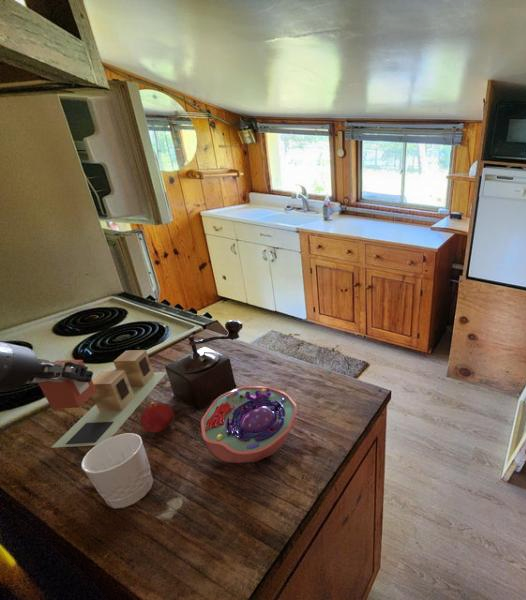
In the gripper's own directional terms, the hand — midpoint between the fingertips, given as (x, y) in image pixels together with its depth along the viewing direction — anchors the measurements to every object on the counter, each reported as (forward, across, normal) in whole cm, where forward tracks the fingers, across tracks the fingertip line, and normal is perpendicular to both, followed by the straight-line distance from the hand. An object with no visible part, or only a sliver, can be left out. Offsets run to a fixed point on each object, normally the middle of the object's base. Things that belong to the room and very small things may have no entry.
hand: (74, 377), depth 66 cm
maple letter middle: (+14, 0, +5) cm, 15 cm away
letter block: (+2, 0, +4) cm, 5 cm away
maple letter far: (+20, 0, -1) cm, 20 cm away
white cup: (-2, -16, +21) cm, 27 cm away
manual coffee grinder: (+18, -20, +1) cm, 27 cm away
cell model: (+5, -35, +15) cm, 38 cm away
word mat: (+14, 0, +5) cm, 15 cm away
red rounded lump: (+8, -14, +11) cm, 20 cm away
